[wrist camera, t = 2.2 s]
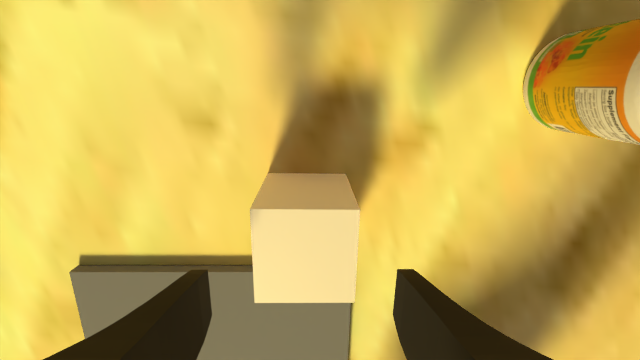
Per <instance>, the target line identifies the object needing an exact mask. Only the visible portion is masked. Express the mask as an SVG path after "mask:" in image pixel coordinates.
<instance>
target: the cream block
mask: <svg viewBox="0 0 640 360" xmlns="http://www.w3.org/2000/svg"><path fill="white" fill-rule="evenodd" d="M250 221H251V241H252V262H253V282H254V302H255V303H355V290H356V273H357V255H358V238H359V221H360V208H359V206H358V203H357V201H356V198H355V196H354V193H353V191H352V188H351V186H350V183H349V181H348V178H347V176H346V174H318V173H268V174H267V176H266V178H265V180H264V182H263V184H262V186H261V188H260V190H259V192H258V194H257V196H256V198H255V200H254V202H253V204H252V206H251V208H250Z"/></svg>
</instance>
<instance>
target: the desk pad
mask: <svg viewBox="0 0 640 360" xmlns="http://www.w3.org/2000/svg"><path fill="white" fill-rule="evenodd" d="M190 270H208V277H209V287H210V298H211V308H212V318H211V321H210V325H209V328H208V331H207V335H206V338H205V341H204V343H203V346H202V348H201V350H200V353H199V355H198V357H197V359H196V360H348V346H349V327H350V308H351V303H255V302H254V282H253V265H78V266H77V267H76V268H74V269H73V270H72V271H70V272H69V273H70V277H71V281H72V285H73V289H74V294H75V298H76V302H77V306H78V311H79V315H80V319H81V323H82V327H83V332H84V336H85V339H86V338H88V337H90V336H92V335H94V334H95V333H97V332H99V331H101V330H103V329H104V328H106V327H108V326H110V325H111V324H113V323H115V322H116V321H118V320H119V319H121V318H123V317H124V316H126V315H127V314H129V313H130V312H132V311H133V310H135V309H136V308H138V307H139V306H141V305H142V304H144V303H145V302H147V301H148V300H150V299H151V298H152V297H154V296H155V295H157V294H158V293H159V292H161V291H162V290H164V289H165V288H166V287H168V286H169V285H170V284H172V283H173V282H174V281H176V280H177V279H179V278H180V277H181V276H183V275H184V274H186V273H187V272H188V271H190Z"/></svg>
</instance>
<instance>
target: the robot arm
mask: <svg viewBox="0 0 640 360" xmlns="http://www.w3.org/2000/svg"><path fill="white" fill-rule="evenodd" d="M393 316H394V321H395V325H396V329H397V333H398V337H399V340H400V343H401V346H402V348H403V351H404V354H405V356H406V359H407V360H553V359H551V358H549V357H546V356H544V355H542V354H540V353H538V352H536V351H534V350H532V349H530V348H528V347H526V346H524V345H522V344H520V343H518V342H517V341H515V340H513V339H511V338H509V337H507V336H506V335H504V334H502V333H501V332H499V331H497V330H496V329H494V328H492V327H491V326H489V325H487V324H486V323H484V322H483V321H481V320H480V319H478V318H477V317H475V316H474V315H472V314H471V313H469V312H468V311H466V310H465V309H464V308H462V307H461V306H459V305H458V304H457V303H455V302H454V301H453V300H451V299H450V298H449V297H448V296H446V295H445V294H444V293H442V292H441V291H440V290H439V289H437V288H436V287H435V286H434V285H432V284H431V283H430V282H429V281H428V280H426V279H425V278H424V277H423V276H421V275H420V274H419V273H418V272H416V271H415V270H413V269H397V279H396V289H395V299H394V309H393ZM211 318H212V308H211V298H210V287H209V277H208V270H190V271H188V272H187V273H186V274H184V275H183V276H181V277H180V278H179V279H177V280H176V281H174V282H173V283H172V284H170V285H169V286H168V287H166V288H165V289H164V290H162V291H161V292H159V293H158V294H157V295H155V296H154V297H152V298H151V299H150V300H148V301H147V302H145V303H144V304H142V305H141V306H139V307H138V308H136V309H135V310H133V311H132V312H130V313H129V314H127V315H126V316H124V317H123V318H121V319H119V320H118V321H116V322H115V323H113V324H111V325H110V326H108V327H106V328H104V329H103V330H101V331H99V332H97V333H95V334H94V335H92V336H90V337H88V338H86V339H84V340H82V341H80V342H78V343H76V344H74V345H72V346H70V347H68V348H66V349H64V350H62V351H60V352H58V353H56V354H54V355H52V356H50V357H48V358H45V359H43V360H196V359H197V357H198V355H199V353H200V350H201V348H202V346H203V343H204V341H205V338H206V335H207V331H208V328H209V325H210V321H211Z"/></svg>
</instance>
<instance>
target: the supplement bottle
mask: <svg viewBox="0 0 640 360" xmlns="http://www.w3.org/2000/svg"><path fill="white" fill-rule="evenodd" d="M523 97H524V102H525V106H526V108H527V110H528V112H529V114H530V115H531V116H532V117H533V119H534V120H536V121H537V122H538V123H540V124H541V125H543V126H545V127H547V128H550V129H555V130H559V131H564V132H570V133H576V134H581V135H587V136H593V137H598V138H604V139H609V140H615V141H621V142H627V143H632V144H638V145H640V19H636V20H631V21H626V22H621V23H616V24H611V25H606V26H601V27H596V28H591V29H586V30H581V31H577V32H573V33H569V34H566V35H563V36H561V37H559V38H557V39H555V40H553V41H552V42H550V43H549V44H548V45H546V46H545V47H544V48H543V49H542V50H541V51H540V52H539V53H538V54H537V56H536V57H535V58H534V60H533V61H532V63H531V64H530V66H529V68H528V70H527V73H526V76H525V80H524V85H523Z"/></svg>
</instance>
